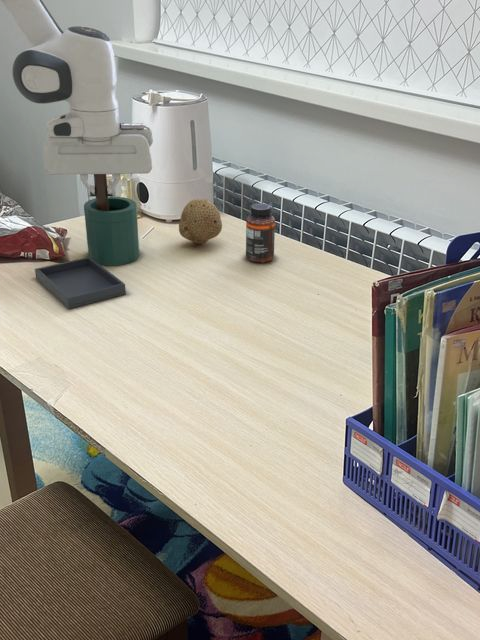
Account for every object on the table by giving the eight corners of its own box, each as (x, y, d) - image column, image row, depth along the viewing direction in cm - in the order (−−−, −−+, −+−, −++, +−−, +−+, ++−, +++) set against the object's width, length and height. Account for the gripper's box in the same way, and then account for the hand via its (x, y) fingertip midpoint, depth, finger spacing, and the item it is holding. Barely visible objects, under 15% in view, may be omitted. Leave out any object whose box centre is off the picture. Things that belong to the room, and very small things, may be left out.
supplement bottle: (268, 251, 149) (270, 200, 143) (277, 262, 144) (280, 209, 138) (241, 254, 147) (243, 202, 141) (250, 265, 142) (251, 211, 136)
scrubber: (91, 247, 142) (84, 169, 134) (110, 243, 144) (105, 166, 136) (100, 254, 139) (94, 175, 131) (120, 249, 141) (115, 172, 133)
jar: (80, 252, 144) (75, 201, 139) (124, 243, 150) (121, 193, 144) (102, 269, 137) (97, 216, 132) (147, 258, 143) (145, 207, 137)
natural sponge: (230, 243, 152) (231, 199, 147) (204, 255, 145) (204, 209, 140) (199, 233, 156) (199, 190, 151) (172, 244, 150) (171, 199, 145)
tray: (36, 278, 132) (34, 268, 131) (90, 266, 138) (89, 256, 137) (68, 309, 122) (67, 298, 121) (126, 294, 128) (125, 283, 127)
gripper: (151, 119, 133) (154, 189, 140) (41, 119, 130) (49, 191, 137) (152, 127, 128) (155, 199, 135) (38, 127, 125) (47, 201, 132)
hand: (101, 195), depth 136 cm, fingers closed on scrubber, 2 cm apart
